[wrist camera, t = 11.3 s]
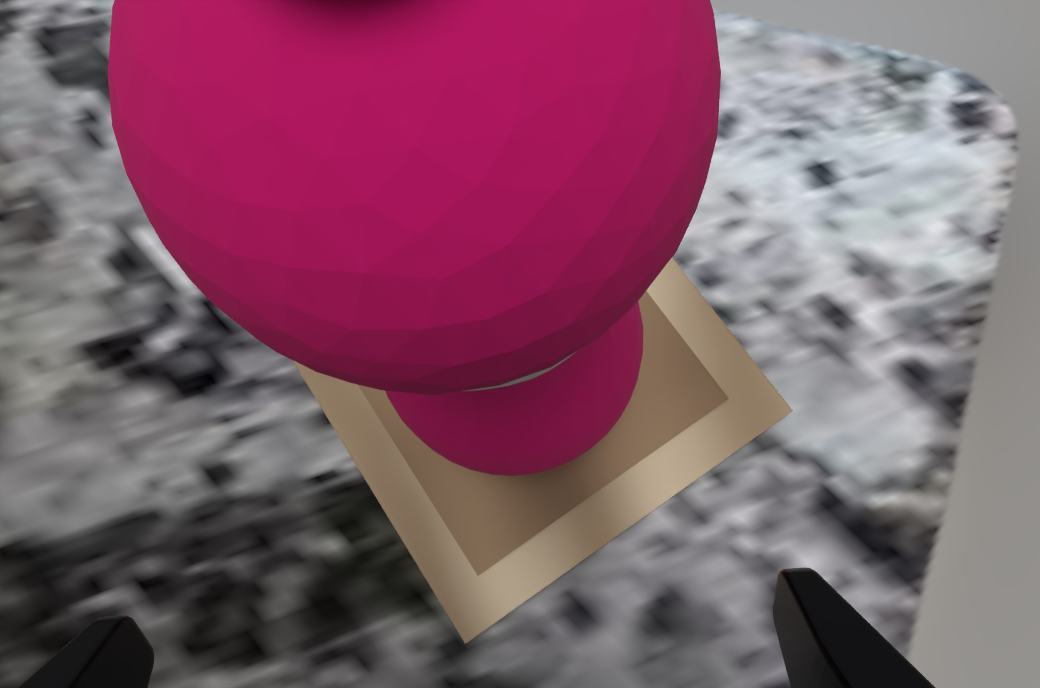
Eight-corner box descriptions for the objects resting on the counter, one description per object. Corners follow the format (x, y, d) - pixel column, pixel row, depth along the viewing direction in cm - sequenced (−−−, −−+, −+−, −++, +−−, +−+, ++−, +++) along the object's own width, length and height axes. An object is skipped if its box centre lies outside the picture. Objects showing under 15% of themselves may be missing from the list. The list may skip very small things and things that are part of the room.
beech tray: (468, 638, 22) (464, 645, 21) (276, 324, 25) (265, 317, 24) (785, 413, 23) (794, 409, 22) (565, 133, 25) (565, 119, 24)
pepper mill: (372, 389, 23) (-760, -198, 3) (501, 229, 24) (226, -969, 4) (540, 524, 22) (329, 873, 2) (670, 349, 22) (1390, -579, 3)
